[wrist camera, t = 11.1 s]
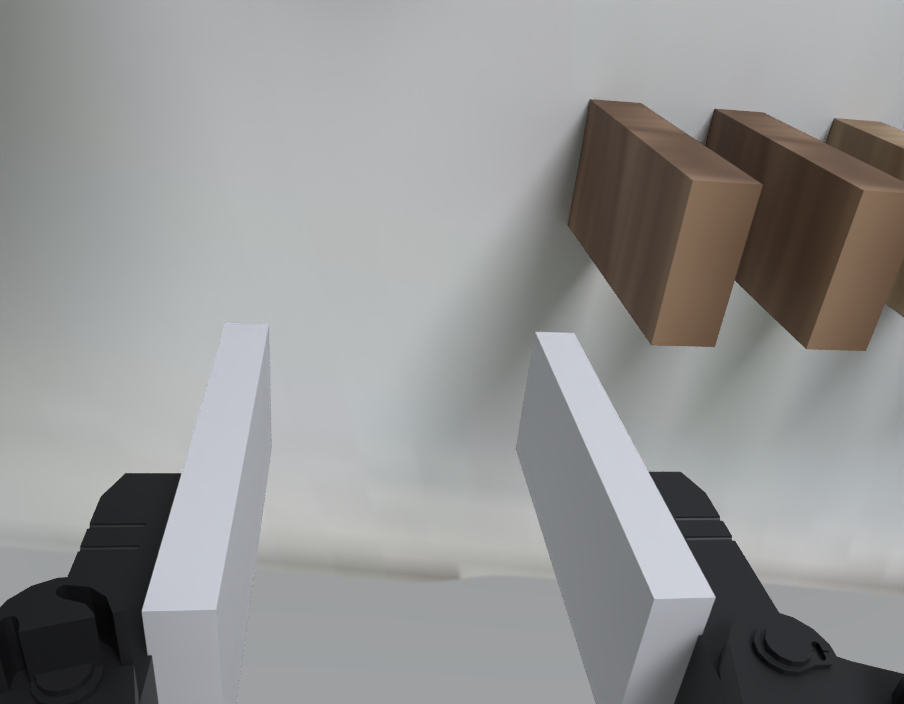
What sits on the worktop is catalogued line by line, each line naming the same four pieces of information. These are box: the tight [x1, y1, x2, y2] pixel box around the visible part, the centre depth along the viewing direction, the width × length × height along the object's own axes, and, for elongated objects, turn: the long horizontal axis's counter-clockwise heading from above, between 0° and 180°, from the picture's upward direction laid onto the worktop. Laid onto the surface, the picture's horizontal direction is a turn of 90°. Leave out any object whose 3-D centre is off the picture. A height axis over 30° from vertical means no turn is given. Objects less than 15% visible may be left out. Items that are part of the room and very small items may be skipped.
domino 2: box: [706, 109, 904, 351], centre depth 27 cm, size 2×5×10 cm, turn 175°
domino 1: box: [568, 99, 763, 347], centre depth 26 cm, size 2×5×10 cm, turn 175°
